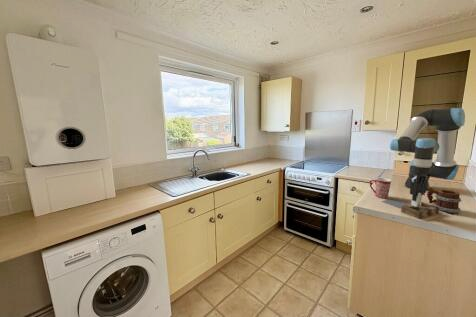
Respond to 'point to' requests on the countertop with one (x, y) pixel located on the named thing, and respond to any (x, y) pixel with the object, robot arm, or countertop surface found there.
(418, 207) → the peg
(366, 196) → the countertop surface
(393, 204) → the mat
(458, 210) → the mug
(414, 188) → the robot arm
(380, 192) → the mug
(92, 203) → the countertop surface
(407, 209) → the hole block
